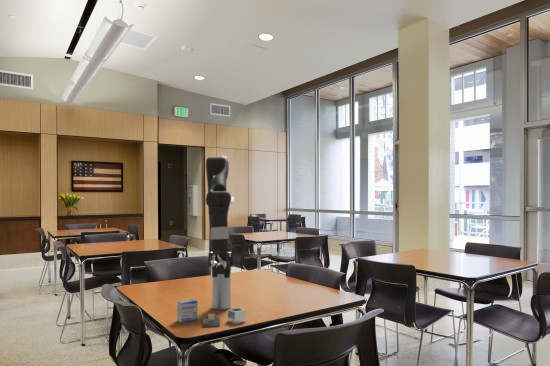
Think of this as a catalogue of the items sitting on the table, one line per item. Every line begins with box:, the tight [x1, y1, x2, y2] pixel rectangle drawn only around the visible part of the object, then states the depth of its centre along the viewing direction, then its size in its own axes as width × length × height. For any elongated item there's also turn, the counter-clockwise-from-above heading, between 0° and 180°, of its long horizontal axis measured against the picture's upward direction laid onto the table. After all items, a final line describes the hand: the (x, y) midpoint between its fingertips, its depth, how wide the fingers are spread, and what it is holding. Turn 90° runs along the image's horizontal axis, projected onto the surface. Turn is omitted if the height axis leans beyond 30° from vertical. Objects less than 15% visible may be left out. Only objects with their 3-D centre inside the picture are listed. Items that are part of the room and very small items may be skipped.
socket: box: [227, 307, 247, 325], centre depth 172 cm, size 6×6×5 cm
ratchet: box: [202, 313, 221, 328], centre depth 172 cm, size 15×7×4 cm, turn 9°
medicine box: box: [176, 298, 199, 324], centre depth 174 cm, size 8×4×9 cm, turn 126°
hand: (220, 277), depth 161 cm, fingers open, 8 cm apart
